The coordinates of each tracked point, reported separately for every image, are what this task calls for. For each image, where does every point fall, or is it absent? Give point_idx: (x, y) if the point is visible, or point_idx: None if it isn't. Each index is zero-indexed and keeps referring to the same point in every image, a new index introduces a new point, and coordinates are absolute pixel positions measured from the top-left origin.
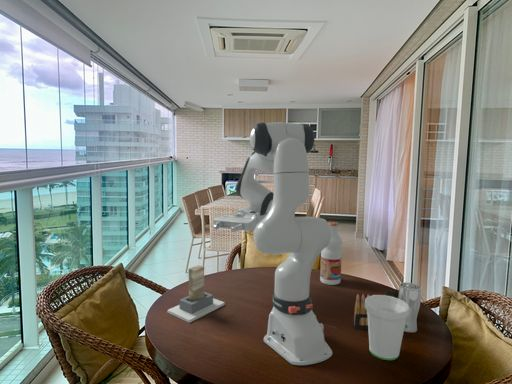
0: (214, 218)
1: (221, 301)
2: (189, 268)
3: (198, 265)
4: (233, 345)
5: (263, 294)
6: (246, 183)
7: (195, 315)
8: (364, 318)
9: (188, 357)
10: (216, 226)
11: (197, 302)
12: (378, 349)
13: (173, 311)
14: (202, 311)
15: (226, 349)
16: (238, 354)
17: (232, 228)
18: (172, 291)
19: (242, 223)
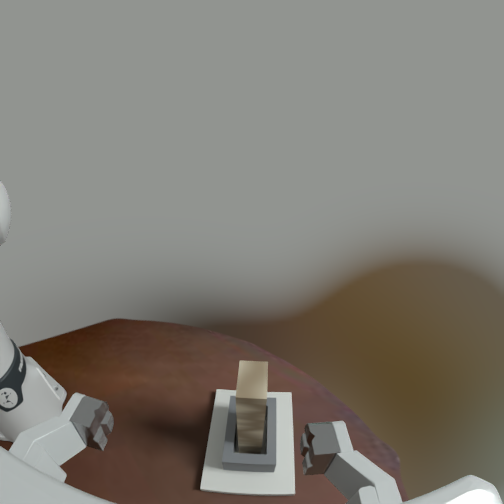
0: (493, 490)
1: (211, 489)
2: (267, 364)
3: (265, 396)
4: (107, 371)
5: None
6: None
7: (219, 407)
8: None
9: (156, 332)
10: (307, 436)
11: (228, 411)
12: None
13: (274, 395)
14: (218, 427)
15: (114, 360)
16: (95, 357)
17: (91, 398)
18: (385, 457)
19: (8, 453)
